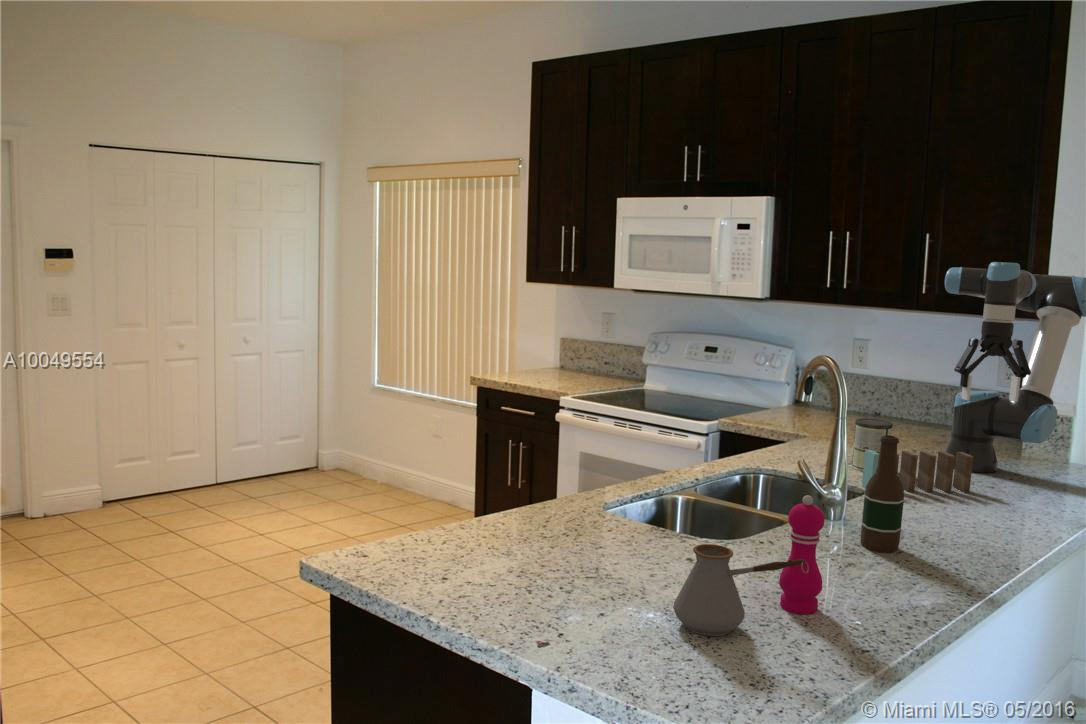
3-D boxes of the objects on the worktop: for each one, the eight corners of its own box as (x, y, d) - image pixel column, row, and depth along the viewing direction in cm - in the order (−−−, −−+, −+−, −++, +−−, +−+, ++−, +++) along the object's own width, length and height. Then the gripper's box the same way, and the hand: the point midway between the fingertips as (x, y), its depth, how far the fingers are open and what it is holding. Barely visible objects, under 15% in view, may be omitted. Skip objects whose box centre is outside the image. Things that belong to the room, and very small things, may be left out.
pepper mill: (771, 599, 162) (780, 489, 159) (810, 599, 162) (820, 490, 160) (785, 615, 154) (795, 501, 152) (826, 616, 155) (837, 502, 152)
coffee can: (847, 463, 271) (851, 417, 269) (883, 466, 270) (887, 419, 268) (855, 472, 261) (860, 423, 259) (892, 474, 260) (897, 426, 258)
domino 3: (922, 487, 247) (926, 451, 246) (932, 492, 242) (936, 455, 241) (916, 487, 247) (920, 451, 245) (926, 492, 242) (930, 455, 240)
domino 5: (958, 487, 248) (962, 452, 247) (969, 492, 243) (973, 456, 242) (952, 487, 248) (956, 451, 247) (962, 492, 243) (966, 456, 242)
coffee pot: (659, 627, 147) (665, 537, 145) (692, 606, 156) (698, 522, 155) (785, 668, 135) (794, 570, 133) (813, 643, 144) (821, 551, 142)
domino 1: (868, 486, 245) (871, 450, 244) (876, 491, 240) (880, 454, 239) (861, 486, 245) (865, 449, 243) (870, 491, 240) (874, 454, 238)
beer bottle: (898, 544, 196) (908, 435, 193) (899, 555, 189) (910, 442, 186) (859, 539, 198) (870, 431, 195) (859, 549, 191) (870, 437, 188)
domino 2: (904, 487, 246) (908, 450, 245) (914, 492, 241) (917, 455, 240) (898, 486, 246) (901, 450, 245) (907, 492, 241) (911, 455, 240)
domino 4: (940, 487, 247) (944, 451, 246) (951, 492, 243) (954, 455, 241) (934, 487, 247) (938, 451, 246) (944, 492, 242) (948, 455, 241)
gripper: (1033, 321, 246) (1024, 398, 248) (945, 317, 243) (937, 396, 246) (1051, 324, 238) (1042, 403, 241) (961, 320, 236) (952, 401, 238)
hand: (989, 400), depth 243 cm, fingers open, 13 cm apart
